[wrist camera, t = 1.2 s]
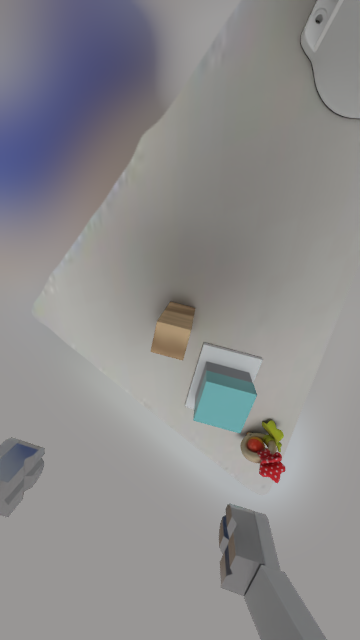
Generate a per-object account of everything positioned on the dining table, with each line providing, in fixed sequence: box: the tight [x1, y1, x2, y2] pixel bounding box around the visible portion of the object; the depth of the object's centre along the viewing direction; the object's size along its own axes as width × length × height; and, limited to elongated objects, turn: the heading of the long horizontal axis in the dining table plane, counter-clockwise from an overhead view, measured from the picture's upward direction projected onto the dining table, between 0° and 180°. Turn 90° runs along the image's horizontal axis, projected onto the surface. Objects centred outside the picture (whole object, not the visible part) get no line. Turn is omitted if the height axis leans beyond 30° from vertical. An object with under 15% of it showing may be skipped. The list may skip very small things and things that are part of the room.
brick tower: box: [185, 342, 263, 433], centre depth 42 cm, size 16×12×8 cm
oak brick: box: [151, 302, 195, 360], centre depth 37 cm, size 5×5×12 cm
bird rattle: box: [241, 420, 285, 483], centre depth 44 cm, size 6×11×9 cm
